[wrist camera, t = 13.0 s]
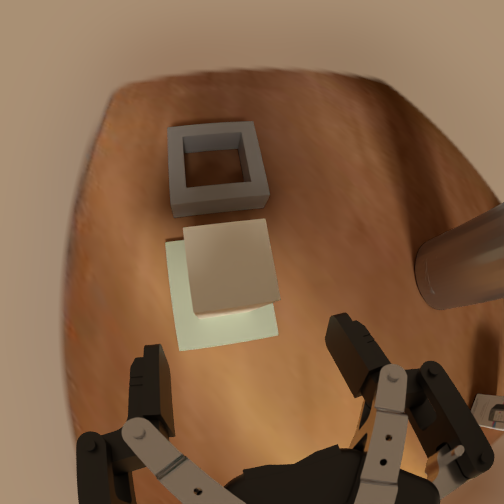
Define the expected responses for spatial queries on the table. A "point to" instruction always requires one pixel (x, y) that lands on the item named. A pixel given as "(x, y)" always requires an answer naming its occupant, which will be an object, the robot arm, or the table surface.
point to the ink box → (489, 411)
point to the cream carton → (230, 268)
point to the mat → (216, 328)
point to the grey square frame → (222, 195)
